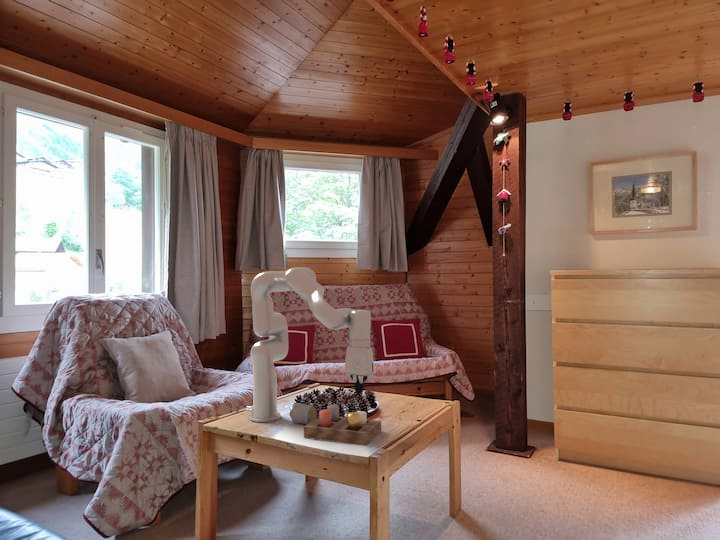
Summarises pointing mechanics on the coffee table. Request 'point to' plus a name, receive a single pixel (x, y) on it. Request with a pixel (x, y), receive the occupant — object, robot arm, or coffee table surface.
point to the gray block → (334, 412)
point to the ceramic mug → (303, 413)
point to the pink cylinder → (325, 418)
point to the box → (343, 431)
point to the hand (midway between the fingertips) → (358, 393)
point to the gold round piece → (353, 421)
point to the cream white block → (363, 417)
